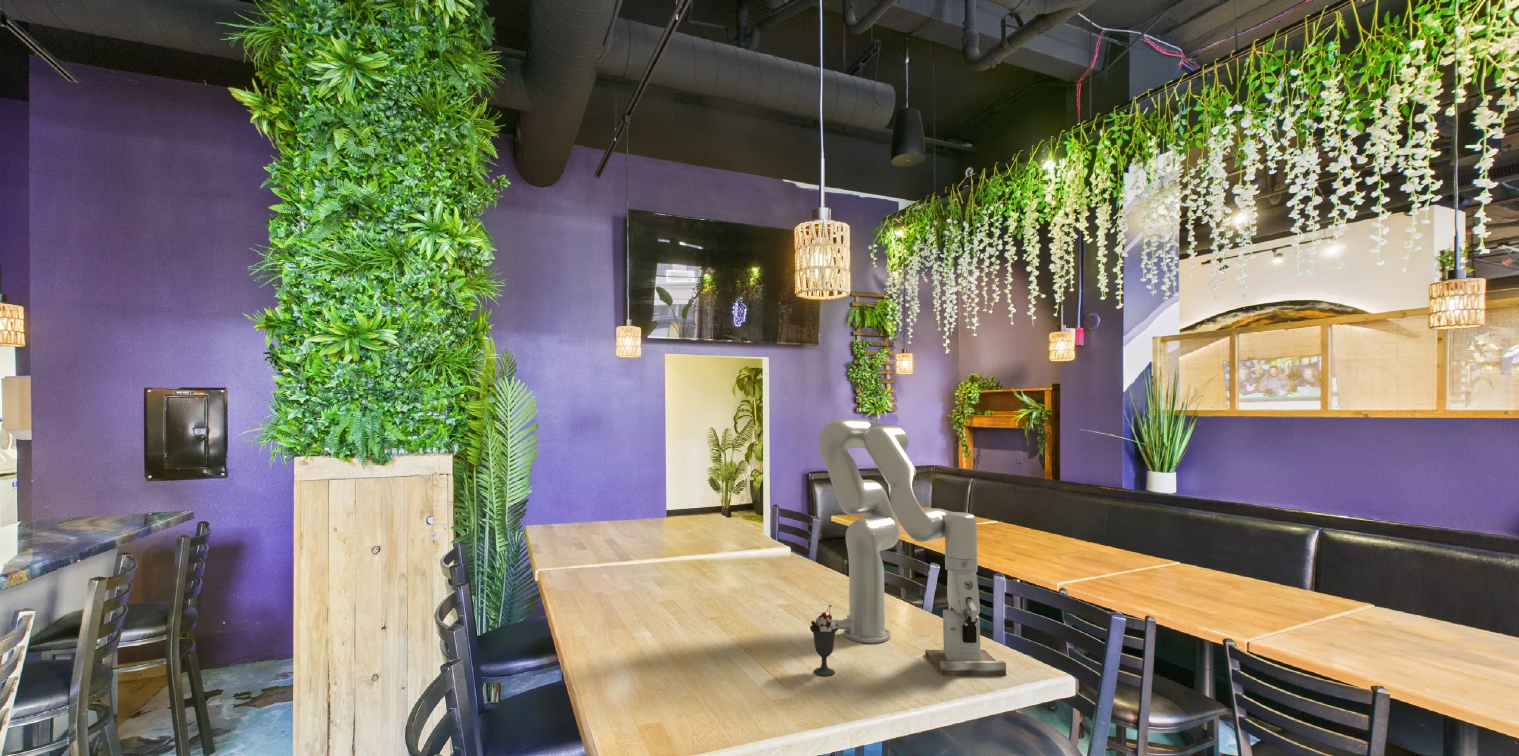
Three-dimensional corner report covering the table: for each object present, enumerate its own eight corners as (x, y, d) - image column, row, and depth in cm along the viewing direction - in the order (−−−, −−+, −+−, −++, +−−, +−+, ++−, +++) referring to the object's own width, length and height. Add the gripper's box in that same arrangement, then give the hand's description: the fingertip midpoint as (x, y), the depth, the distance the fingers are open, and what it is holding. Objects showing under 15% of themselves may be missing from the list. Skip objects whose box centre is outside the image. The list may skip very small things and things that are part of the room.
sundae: (841, 668, 147) (841, 603, 148) (835, 679, 141) (835, 611, 142) (813, 664, 149) (814, 600, 150) (806, 675, 143) (806, 608, 144)
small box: (976, 654, 154) (975, 610, 155) (981, 662, 148) (980, 617, 149) (943, 652, 155) (942, 608, 156) (946, 660, 149) (945, 615, 150)
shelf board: (941, 675, 144) (941, 662, 144) (925, 654, 157) (925, 643, 157) (1006, 675, 144) (1005, 662, 144) (984, 654, 157) (984, 643, 157)
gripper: (990, 572, 144) (991, 648, 143) (963, 556, 162) (964, 624, 160) (958, 572, 144) (959, 648, 143) (935, 556, 162) (935, 624, 160)
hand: (962, 635), depth 152 cm, fingers open, 9 cm apart
